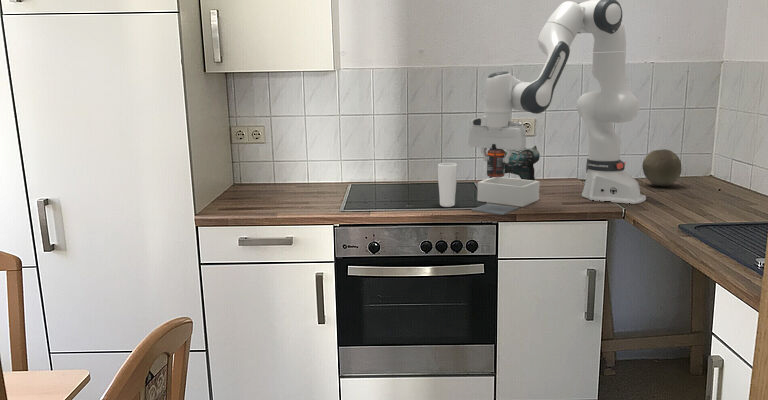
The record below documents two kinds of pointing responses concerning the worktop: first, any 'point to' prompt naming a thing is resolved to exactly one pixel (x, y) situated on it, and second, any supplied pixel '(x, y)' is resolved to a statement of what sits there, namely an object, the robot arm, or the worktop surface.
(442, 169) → the drinking glass
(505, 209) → the mat
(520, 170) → the ceramic cat
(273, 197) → the worktop surface
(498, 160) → the supplement bottle
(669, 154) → the cantaloupe
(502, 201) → the box
